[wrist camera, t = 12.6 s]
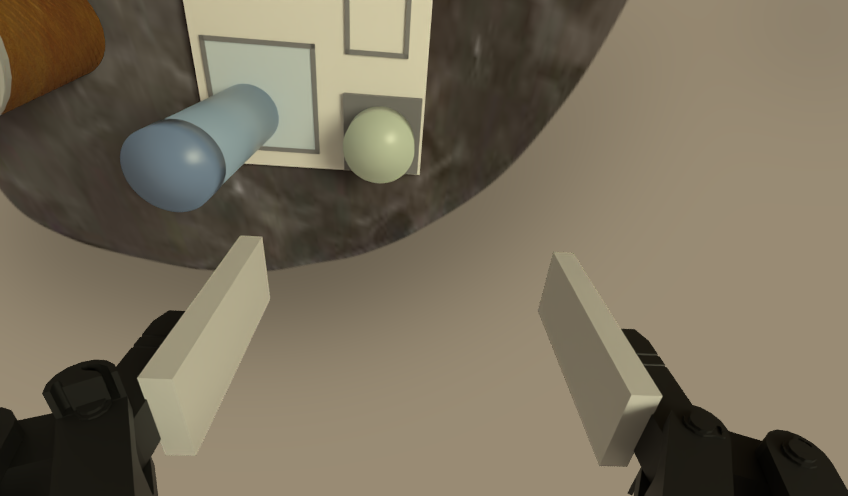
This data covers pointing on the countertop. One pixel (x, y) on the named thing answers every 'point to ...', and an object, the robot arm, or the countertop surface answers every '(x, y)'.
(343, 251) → the countertop surface
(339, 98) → the sheet
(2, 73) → the disposable coffee cup
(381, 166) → the button
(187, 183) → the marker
